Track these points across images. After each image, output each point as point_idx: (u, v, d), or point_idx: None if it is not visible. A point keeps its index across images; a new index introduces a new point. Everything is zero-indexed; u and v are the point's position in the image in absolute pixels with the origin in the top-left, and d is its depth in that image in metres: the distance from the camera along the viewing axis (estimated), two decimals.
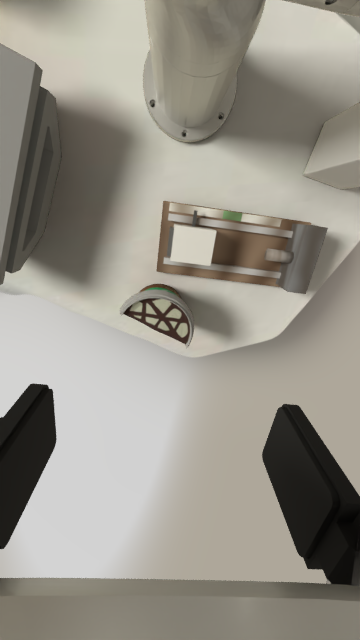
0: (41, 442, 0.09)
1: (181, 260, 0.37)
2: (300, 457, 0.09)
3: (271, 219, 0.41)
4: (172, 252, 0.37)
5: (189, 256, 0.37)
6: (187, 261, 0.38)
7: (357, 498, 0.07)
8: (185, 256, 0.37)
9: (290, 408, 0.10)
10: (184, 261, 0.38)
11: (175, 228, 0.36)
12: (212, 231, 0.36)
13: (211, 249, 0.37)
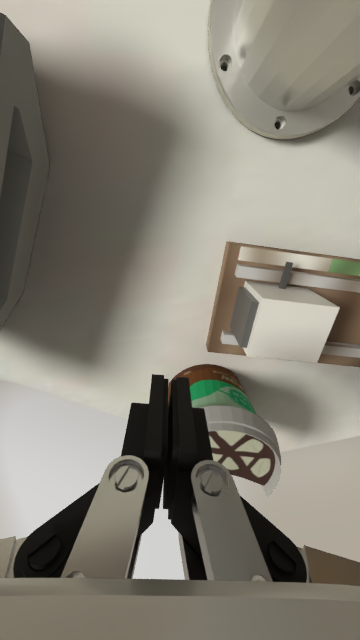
0: None
1: (267, 355, 0.21)
2: (171, 420, 0.09)
3: None
4: (252, 343, 0.20)
5: (281, 349, 0.20)
6: (277, 356, 0.21)
7: (194, 448, 0.08)
8: (275, 348, 0.20)
9: (178, 379, 0.11)
10: (272, 356, 0.21)
11: (263, 304, 0.19)
12: (331, 308, 0.19)
13: (324, 337, 0.20)
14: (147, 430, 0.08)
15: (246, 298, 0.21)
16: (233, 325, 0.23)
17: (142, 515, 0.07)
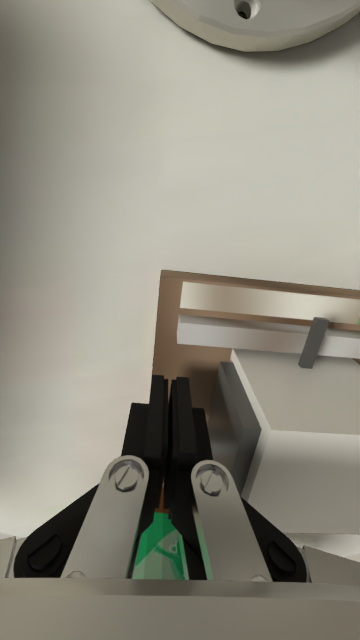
0: None
1: (281, 528, 0.09)
2: (171, 420, 0.09)
3: None
4: None
5: (314, 517, 0.09)
6: (304, 529, 0.10)
7: (194, 448, 0.08)
8: (299, 516, 0.09)
9: (178, 379, 0.11)
10: (292, 529, 0.10)
11: (273, 441, 0.08)
12: None
13: None
14: (147, 430, 0.08)
15: (233, 405, 0.09)
16: (212, 434, 0.12)
17: (142, 515, 0.07)
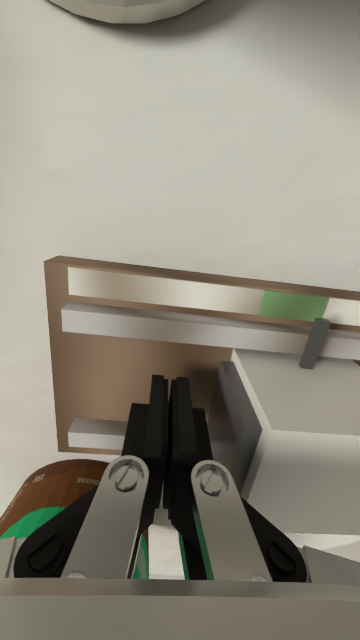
0: None
1: (280, 528, 0.09)
2: (171, 420, 0.09)
3: None
4: None
5: (313, 518, 0.09)
6: (302, 529, 0.10)
7: (194, 448, 0.08)
8: (298, 516, 0.09)
9: (178, 379, 0.11)
10: (291, 529, 0.10)
11: (274, 441, 0.08)
12: None
13: None
14: (147, 430, 0.08)
15: (233, 405, 0.09)
16: (212, 434, 0.12)
17: (142, 515, 0.07)
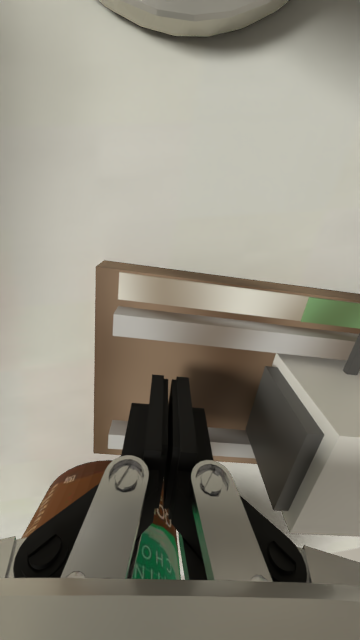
0: None
1: (332, 531, 0.10)
2: (171, 420, 0.09)
3: None
4: (304, 513, 0.09)
5: None
6: (353, 532, 0.10)
7: (193, 448, 0.08)
8: (351, 520, 0.09)
9: (178, 379, 0.11)
10: (342, 532, 0.10)
11: (339, 446, 0.08)
12: None
13: None
14: (147, 430, 0.08)
15: (288, 410, 0.10)
16: (254, 437, 0.12)
17: (142, 515, 0.07)
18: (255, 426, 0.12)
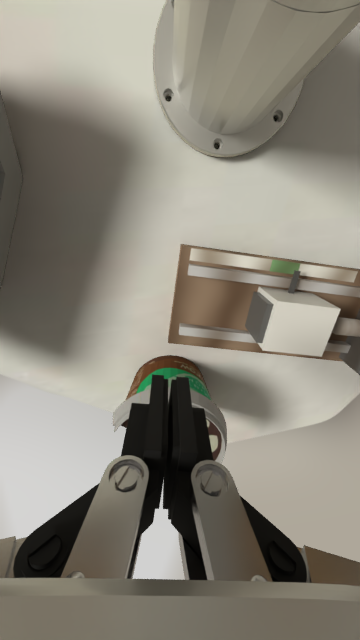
0: None
1: (279, 349, 0.24)
2: (171, 420, 0.09)
3: (342, 272, 0.27)
4: (267, 339, 0.24)
5: (292, 344, 0.24)
6: (288, 351, 0.24)
7: (193, 448, 0.08)
8: (286, 343, 0.24)
9: (178, 379, 0.11)
10: (283, 351, 0.24)
11: (277, 306, 0.23)
12: (334, 309, 0.23)
13: (327, 334, 0.24)
14: (147, 430, 0.08)
15: (262, 301, 0.24)
16: (249, 324, 0.27)
17: (142, 515, 0.07)
18: (249, 319, 0.27)
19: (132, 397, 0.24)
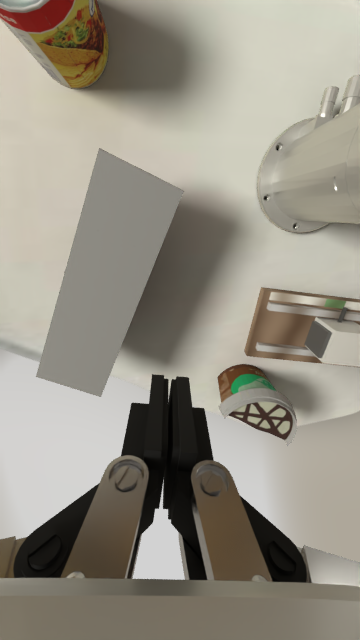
0: None
1: (334, 362, 0.36)
2: (171, 420, 0.09)
3: None
4: (327, 355, 0.35)
5: (343, 359, 0.35)
6: (340, 363, 0.36)
7: (194, 448, 0.08)
8: (339, 358, 0.35)
9: (178, 379, 0.11)
10: (337, 363, 0.36)
11: (335, 334, 0.34)
12: None
13: None
14: (147, 430, 0.08)
15: (322, 329, 0.35)
16: (309, 344, 0.38)
17: (142, 515, 0.07)
18: (309, 340, 0.38)
19: (234, 395, 0.36)
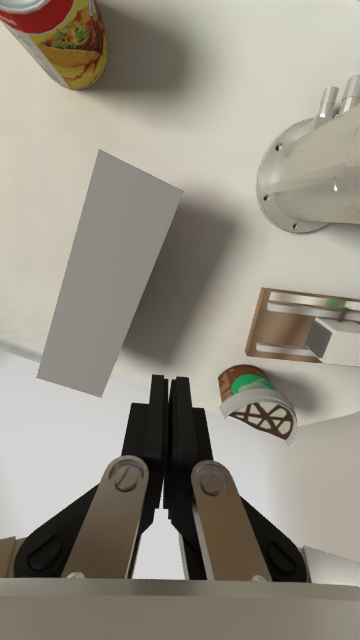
0: None
1: (334, 362, 0.36)
2: (171, 420, 0.09)
3: None
4: (327, 355, 0.35)
5: (343, 359, 0.35)
6: (340, 363, 0.36)
7: (194, 448, 0.08)
8: (339, 358, 0.35)
9: (178, 379, 0.11)
10: (337, 363, 0.36)
11: (336, 334, 0.34)
12: None
13: None
14: (147, 430, 0.08)
15: (322, 329, 0.35)
16: (309, 344, 0.38)
17: (142, 515, 0.07)
18: (309, 340, 0.38)
19: (234, 395, 0.36)
